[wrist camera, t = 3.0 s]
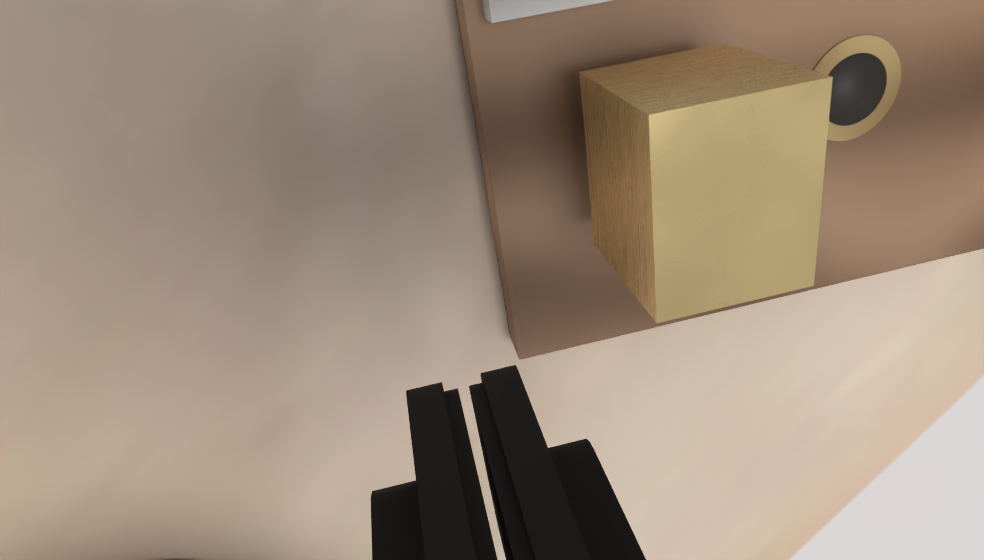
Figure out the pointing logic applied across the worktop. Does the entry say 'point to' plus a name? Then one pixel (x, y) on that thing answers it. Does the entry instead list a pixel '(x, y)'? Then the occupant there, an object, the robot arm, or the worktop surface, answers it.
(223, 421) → the worktop surface
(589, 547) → the robot arm
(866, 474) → the worktop surface
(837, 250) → the wooden slider board
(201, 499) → the worktop surface
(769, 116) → the sliding block
